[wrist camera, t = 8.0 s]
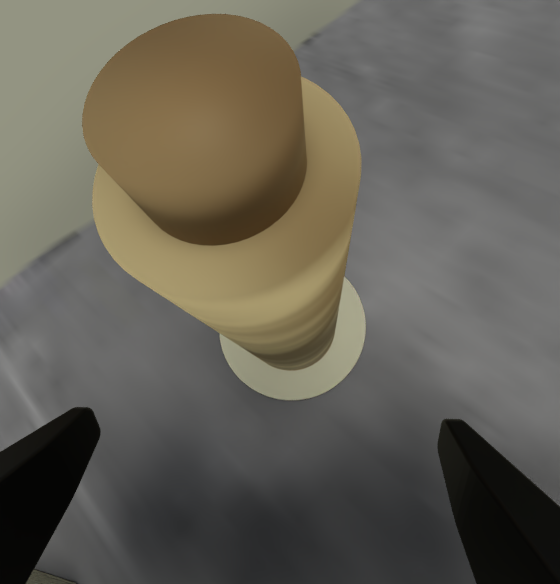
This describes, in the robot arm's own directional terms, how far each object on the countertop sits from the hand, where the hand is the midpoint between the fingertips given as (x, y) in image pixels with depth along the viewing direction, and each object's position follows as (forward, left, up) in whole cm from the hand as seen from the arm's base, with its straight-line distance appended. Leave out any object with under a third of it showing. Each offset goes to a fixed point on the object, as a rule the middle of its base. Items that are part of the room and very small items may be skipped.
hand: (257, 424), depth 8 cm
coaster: (+5, +1, -9) cm, 10 cm away
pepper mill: (+4, +1, -9) cm, 10 cm away
